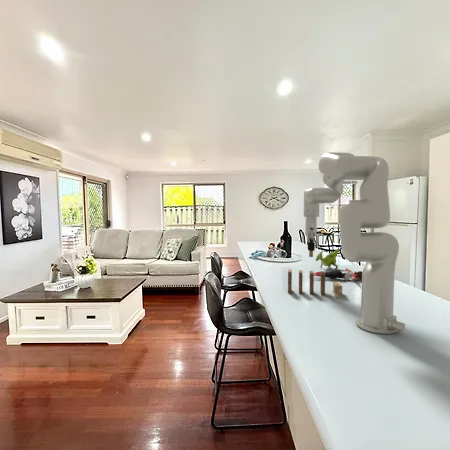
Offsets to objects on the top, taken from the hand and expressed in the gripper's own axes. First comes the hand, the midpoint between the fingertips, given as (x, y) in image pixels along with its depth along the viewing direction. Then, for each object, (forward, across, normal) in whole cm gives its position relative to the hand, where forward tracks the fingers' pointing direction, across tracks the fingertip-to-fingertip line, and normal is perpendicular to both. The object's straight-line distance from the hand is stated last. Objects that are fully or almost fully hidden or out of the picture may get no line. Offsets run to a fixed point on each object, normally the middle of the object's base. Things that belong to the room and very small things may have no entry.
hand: (311, 249), depth 148 cm
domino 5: (+19, +12, +5) cm, 23 cm away
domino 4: (+19, +12, 0) cm, 22 cm away
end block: (+19, +12, +11) cm, 25 cm away
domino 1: (+19, +12, -10) cm, 25 cm away
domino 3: (+4, 0, 0) cm, 4 cm away
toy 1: (+19, -49, +13) cm, 54 cm away
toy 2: (+19, -19, +15) cm, 31 cm away
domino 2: (+19, +12, -5) cm, 23 cm away
